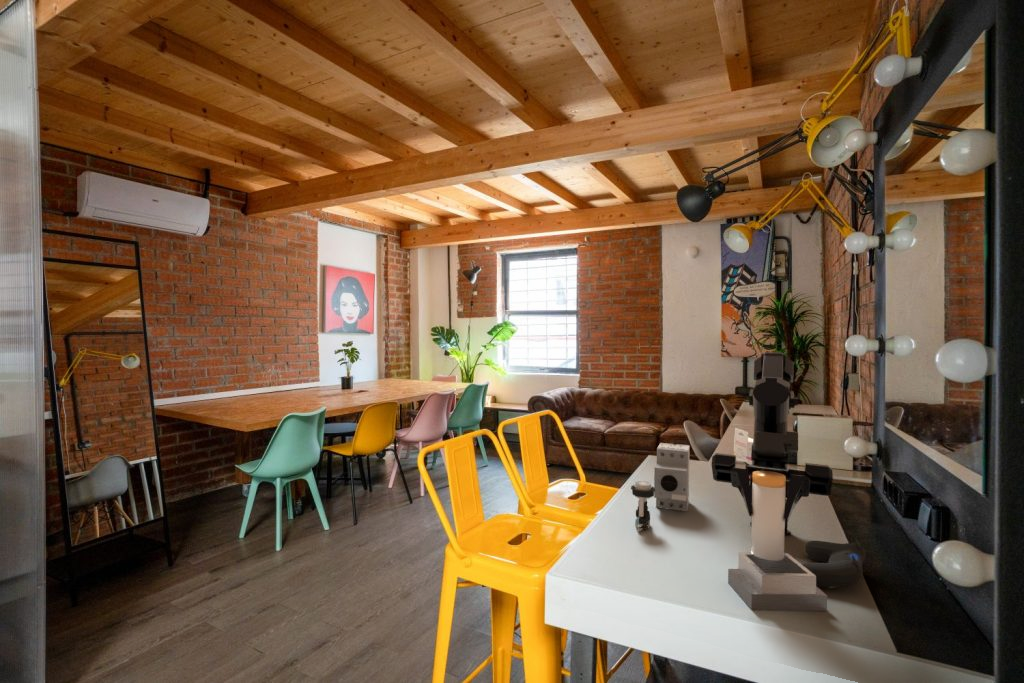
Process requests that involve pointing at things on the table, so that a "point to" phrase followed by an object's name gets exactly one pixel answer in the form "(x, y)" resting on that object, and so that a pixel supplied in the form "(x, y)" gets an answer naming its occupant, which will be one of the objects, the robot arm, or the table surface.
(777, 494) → the orange lidded white canister
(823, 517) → the table surface
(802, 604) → the grey stepped open box
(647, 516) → the push button
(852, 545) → the gaming controller
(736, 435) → the ink cartridge box
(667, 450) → the circuit breaker
